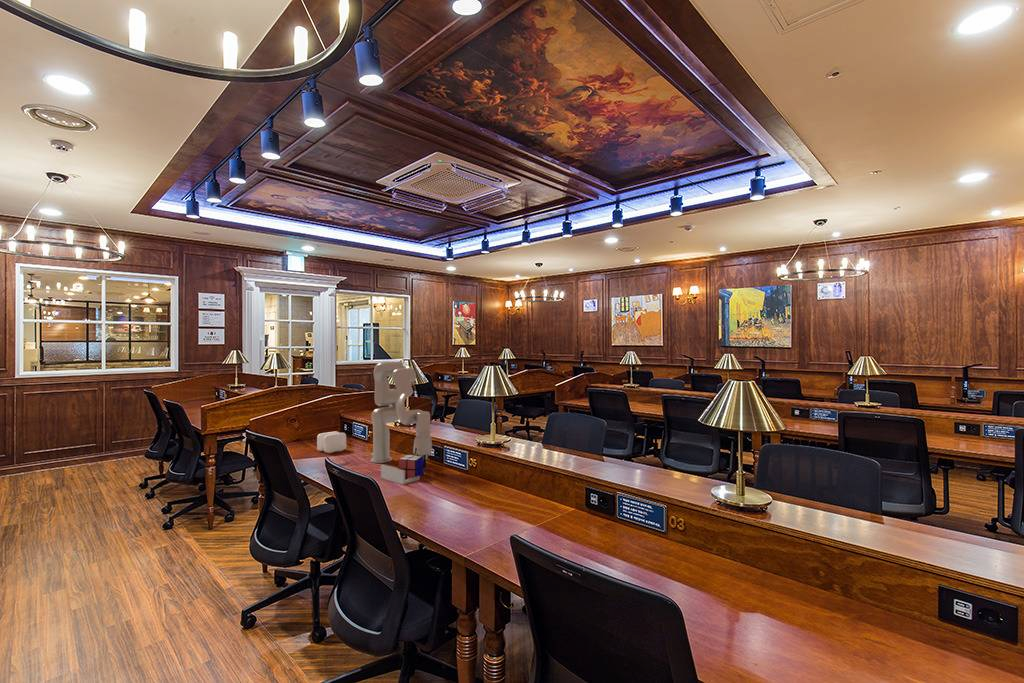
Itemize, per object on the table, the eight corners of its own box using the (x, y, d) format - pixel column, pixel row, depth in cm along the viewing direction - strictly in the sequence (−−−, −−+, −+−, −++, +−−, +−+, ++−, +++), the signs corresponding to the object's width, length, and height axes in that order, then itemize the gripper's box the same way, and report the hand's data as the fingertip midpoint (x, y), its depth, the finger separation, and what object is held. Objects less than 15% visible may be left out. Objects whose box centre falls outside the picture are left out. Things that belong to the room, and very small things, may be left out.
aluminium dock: (381, 477, 245) (381, 464, 245) (398, 473, 254) (398, 460, 254) (402, 484, 234) (402, 470, 234) (419, 479, 242) (419, 466, 242)
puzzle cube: (415, 479, 242) (415, 460, 242) (397, 478, 245) (398, 459, 245) (423, 474, 252) (423, 455, 252) (406, 472, 254) (406, 454, 254)
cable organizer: (323, 454, 294) (324, 436, 294) (316, 451, 301) (316, 433, 301) (346, 450, 305) (346, 432, 305) (338, 447, 312) (338, 430, 312)
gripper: (428, 431, 264) (428, 463, 264) (407, 435, 252) (407, 469, 252) (437, 432, 259) (437, 465, 259) (417, 437, 247) (417, 471, 247)
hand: (423, 467), depth 256 cm, fingers closed
